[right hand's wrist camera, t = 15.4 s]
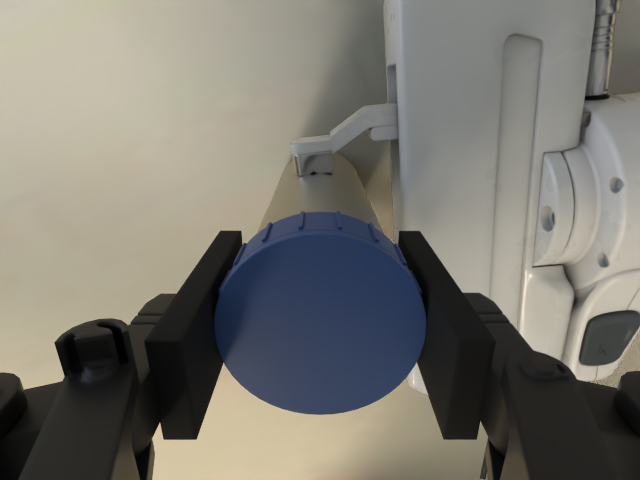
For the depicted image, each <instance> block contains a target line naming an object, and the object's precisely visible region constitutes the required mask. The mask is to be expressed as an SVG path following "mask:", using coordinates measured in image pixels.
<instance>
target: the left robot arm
mask: <svg viewBox="0 0 640 480" xmlns="http://www.w3.org/2000/svg"><path fill="white" fill-rule="evenodd" d="M621 2H622V0H384V6H383V11H384V35H385V57H386V79H387V101H388V103H384V104H376V105H368V106H363V107H362V108H360V109H359V110H358V111H356V112H355V113H354V114H352V115H351V116H350V117H348V118H347V119H346V120H345V121H343V122H342V123H341V124H339V125H338V126H337V127H335V128H334V129H333V130H331V131H330V135H321V136H313V137H304V138H298V139H294V140H292V141H291V143H290V144H291V152H292V159H293V165H294V171H295V175H296V176H305V175H309V174H311V173H312V172H313V171H314V172H316V173H320V174H323V173H332V172H333V160H332V153H333V154H334V153H335V152H337V151H338V150H340V149H341V148H342V147H344V146H345V145H347V144H348V143H349V142H351V141H352V140H353V139H355V138H356V137H358V136H359V135H360V134H362V133H363V132H365V131H366V134H367V135H368V136H369V137H370V138H371V139H372V140H373V141H384V140H389V145H390V167H391V189H392V211H393V233H394V244H395V243H397V245H398V238H399V231H420V232H421V233H422V235H423V236H424V238H425V239H426V240H427V242H428V243H429V245H430V246H431V248H432V249H433V251H434V252H435V253H436V255H437V256H438V258H439V259H440V261H441V262H442V264H443V265H444V266H445V268H446V269H447V271H448V272H449V274H450V275H451V277H452V278H453V279H454V281H455V282H456V284H457V285H458V287H459V288H460V290H461V291H462V293H481V294H483V295H484V296H486V297H487V298H489V299H491V300H492V301H494V302H495V303H496V305H497V306H498V307H499V308H500V310H501V311H502V312H503V314H504V315H505V316H506V317H507V318H508V320H509V321H510V323H512V324H513V326H514V327H515V328H516V329H517V331H518V332H519V333H520V334H521V336H522V337H523V338H524V339H525V341H526V342H527V343H528V344H529V345H530V347H531V348H532V349H533V350H534V351H537V352H541V353H545V354H547V355H550V356H552V357H554V358H556V359H558V360H560V361H561V362H562V363H564V364H565V365H566V366H568V367H569V368H570V369H571V371H572V372H573V373H574V375H575V376H576V379H578V380H581V381H596V380H601V379H604V378H606V377H608V376H610V375H611V374H612V373H613V372H614V371H615V369H616V368H617V367H618V365H619V364H620V362H621V360H622V359H623V357H624V355H625V354H626V352H627V350H628V349H629V347H630V346H631V344H632V342H633V341H634V339H635V338H636V336H637V335H638V333H639V332H640V92H638V93H629V94H621V95H611V96H609V95H608V88H609V81H610V75H611V68H612V61H613V50H614V49H612V48H613V47H614V42H612V41H613V40H614V35H613V33H614V28H615V27H614V25H615V22H616V16H617V13H619V10H620V7H621ZM406 378H407V381H408V383H409V385H410V386H411V387H412V388H414V389H415V390H417V391H419V392H421V393H423V394H425V395H427V396H428V393H427V390H426V387H425V384H424V382H423V379H422V376H421V373H420V370H419V367H418V364H417V362H416V364H415V366H414V368H413V369H412V371H411V372H410V373H409V375H408V376H407V377H406Z"/></svg>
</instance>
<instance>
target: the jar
mask: <svg viewBox="0 0 640 480" xmlns="http://www.w3.org/2000/svg"><path fill="white" fill-rule="evenodd" d="M332 160H333V172H332V173H323V174H320V173H316V172H314V171H313V172H312V173H311V174H309V175H305V176H296V175H295V171H294V165H293V159H292V160H291V161H290V162H289V164H288V165H287V166H286V168H285V170H284V172H283V174H282V176H281V179H280V181H279V183H278V186H277V188H276V190H275V193H274V195H273V197H272V200H271V202H270V204H269V206H268V209H267V211H266V213H265V216H264V218H263V220H262V223H261V225H260V227H259V230H258V232H257V234H258V233H259V232H260V231H261V230H263V229H264V228H266V227H267V224H268V223H270V222H271V223H274V222H277V221H279V220H281V219H283V218H286V217H289V216H292V215H296V214H300V212H301V211H304V212H305V213H307V212H334V213H336V211H340V214H344V215H348V216H351V217H354V218H357V219H360V220H362V221H364V222H366V223H368V224H369V223H370V222H371V223H373V225H374V228H376V229H378V230H379V231H380V232H382V233H383V231H382V229H381V227H380V224H379V222H378V220H377V217H376V215H375V213H374V211H373V208H372V206H371V204H370V201H369V199H368V197H367V194H366V192H365V190H364V187H363V185H362V183H361V180H360V178H359V176H358V174H357V171H356V170H355V168H354V166H353V165H352V163H351V162H350V161H349V160H348V159H347V158H345V157H344V156H343V155H341V154H339V153H337V152H335V153H334V154H333V153H332Z"/></svg>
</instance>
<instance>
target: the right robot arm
mask: <svg viewBox="0 0 640 480" xmlns="http://www.w3.org/2000/svg"><path fill="white" fill-rule="evenodd" d="M398 246H399V248H400V250H401V252H402V254H403V256H404V259H405V261H406V263H407V267H408V269H409V271H410V270H412V272H413V274H414V276H415V278H416V280H417V282H418V284H419V286H420V288H421V290H422V293H423V294H422V295H421V296H422V299H423V303H424V307H425V311H426V320H427V325H426V336H425V342H424V346H423V349H422V351H421V354H420V357H419V359H418V361H417V364H418V367H419V370H420V373H421V376H422V379H423V382H424V384H425V387H426V390H427V393H428V396H429V399H430V402H431V404H432V407H433V410H434V413H435V416H436V419H437V422H438V424H439V427H440V430H441V433H442V436H443V439H467V440H477V435H478V430H479V425H480V420H481V422H482V424H483V427H484V429H485V431H486V433H487V435H488V441H487V446H486V450H485V455H484V460H483V464H482V469H481V475H480V478H481V479H484V480H485V479H486V474H488V480H640V371H633V372H627V373H626V374H624V375H623V376H621V379H620V382H619V384H618V387H617V388H614V387H609V386H604V385H599V384H595V383H590V382H585V381H581V380H578V379H576V376H575V375H574V373H573V372H572V371H571V369H570V368H569V367H568V366H566V365H565V364H564V363H562V362H561V361H560V360H558V359H556V358H554V357H552V356H550V355H547V354H545V353H541V352H537V351H534V350H533V349H532V348H531V347H530V345H529V344H528V343H527V342H526V341H525V339H524V338H523V337H522V336H521V334H520V333H519V332H518V331H517V329H516V328H515V327H514V326H513V324H512V323H510V321H509V320H508V318H507V317H506V316H505V315H504V314H503V312H502V311H501V310H500V308H499V307H498V306H497V305H496V303H495V302H494V301H492V300H491V299H489V298H487V297H486V296H484V295H483V294H481V293H462V291H461V290H460V288H459V287H458V285H457V284H456V282H455V281H454V279H453V278H452V277H451V275H450V274H449V272H448V271H447V269H446V268H445V266H444V265H443V264H442V262H441V261H440V259H439V258H438V256H437V255H436V253H435V252H434V251H433V249H432V248H431V246H430V245H429V243H428V242H427V240H426V239H425V238H424V236H423V235H422V233H421V232H420V231H399V238H398ZM241 247H242V234H241V231H220V232H219V234H218V235H217V236H216V238H215V239H214V241H213V242H212V244H211V245H210V247H209V248H208V249H207V251H206V252H205V254H204V255H203V257H202V258H201V260H200V261H199V263H198V264H197V265H196V267H195V268H194V270H193V271H192V273H191V274H190V276H189V277H188V278H187V280H186V281H185V283H184V284H183V286H182V287H181V289H180V290H179V291H178V293H177V294H160V295H158V296H157V297H155V298H153V299H152V300H150V301H149V302H147V303H146V304H145V305H144V307H143V308H142V309H141V310H140V312H139V313H138V316H136V317H135V318H134V319H133V320H132V322H131V325H127V324H126V323H124V322H123V321H122V320H117V319H98V320H94V321H89V322H85V323H83V324H80V325H78V326H75V327H73V328H71V329H70V330H68V331H67V332H65V333H63V334H62V335H61V336H60V337H59V338H58V339H57V340H56V342H55V346H56V349H57V352H58V356H59V359H60V362H61V366H62V369H63V372H64V375H65V377H64V379H63V381H61V382H58V383H54V384H49V385H44V386H39V387H35V388H30V389H25V390H24V389H23V386H22V383H21V381H20V378H19V377H17V376H16V375H14V374H11V373H0V480H152V475H153V466H154V457H155V452H154V446H153V441H152V437H153V435H154V433H155V431H156V429H157V427H158V425H159V423H161V428H162V433H163V438H164V440H196V439H197V436H198V434H199V431H200V428H201V425H202V422H203V419H204V416H205V414H206V411H207V408H208V405H209V402H210V399H211V397H212V394H213V391H214V388H215V385H216V382H217V379H218V377H219V374H220V371H221V368H222V365H223V360H222V358H221V356H220V354H219V351H218V348H217V345H216V340H215V333H214V313H215V307H216V304H217V300H218V297H219V295H220V294H218V291H219V289H220V287H221V285H222V283H223V281H224V279H225V277H226V275H227V273H228V271H229V270H231V269H232V267H233V265H234V264H233V263H234V261H235V259H236V257H237V255H238V253H239V251H240V249H241Z"/></svg>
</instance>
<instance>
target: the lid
mask: <svg viewBox="0 0 640 480" xmlns="http://www.w3.org/2000/svg"><path fill="white" fill-rule="evenodd" d="M233 264H234V265H233V267H232V269H231V270H229V271H228V273H227V275H226V277H225V279H224V281H223V283H222V285H221V287H220V289H219V291H218V294H220V295H219V297H218V300H217V304H216V307H215V313H214V333H215V340H216V345H217V348H218V351H219V354H220V356H221V358H222V360H223V362H224V364H225V366H226V367H227V369H228V370H229V371H230V373H231V374H232V376H233V377H234V378H235V379H236V380H237V381H238V382H239V383H240V384H241V385H242V386H243V387H244V388H245V389H247V390H248V391H249V392H250V393H252V394H253V395H255V396H256V397H258V398H259V399H261V400H263V401H265V402H267V403H269V404H271V405H274V406H276V407H279V408H282V409H285V410H289V411H293V412H298V413H304V414H318V415H322V414H336V413H343V412H347V411H351V410H355V409H359V408H361V407H364V406H367V405H369V404H371V403H373V402H375V401H377V400H379V399H381V398H382V397H384V396H385V395H387V394H389V393H390V392H391V391H392V390H394V389H395V388H396V387H397V386H399V385H400V384H401V382H402V381H403V380H404V379H405V378H406V377H407V376H408V375H409V373H410V372H411V371H412V369H413V368H414V366H415V364H416V362H417V361H418V359H419V357H420V354H421V351H422V349H423V346H424V342H425V336H426V325H427V320H426V311H425V307H424V303H423V299H422V296H421V295H422V294H423V293H422V290H421V288H420V286H419V284H418V282H417V280H416V278H415V276H414V274H413V272H412V270H410V271H409V269H408V267H407V263H406V261H405V259H404V256H403V254H402V252H401V250H400V248H399V246H398V245H397V243H395V244H393V243H392V242H391V241H390V239H389V238H387V237H386V236H385V235H384V234H383V233H382V232H380V231H379V230H378V229H376V228H374V225H373V223H371V222H370V223H369V224H368V223H366V222H364V221H362V220H360V219H357V218H354V217H351V216H348V215H344V214H340V211H336V213H334V212H307V213H305V212H304V211H301V212H300V214H296V215H292V216H289V217H286V218H283V219H281V220H279V221H277V222H274V223H271V222H270V223H268V224H267V227H266V228H264V229H263V230H261V231H260V232H259V233H258V234H256V235H255V236H254V237H253V238H252V239H251V240H250V241H249V242H248V243H247V244H246V243H244V244H243V245H242V247H241V249H240V251H239V253H238V255H237V257H236V259H235V261H234V263H233Z"/></svg>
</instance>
